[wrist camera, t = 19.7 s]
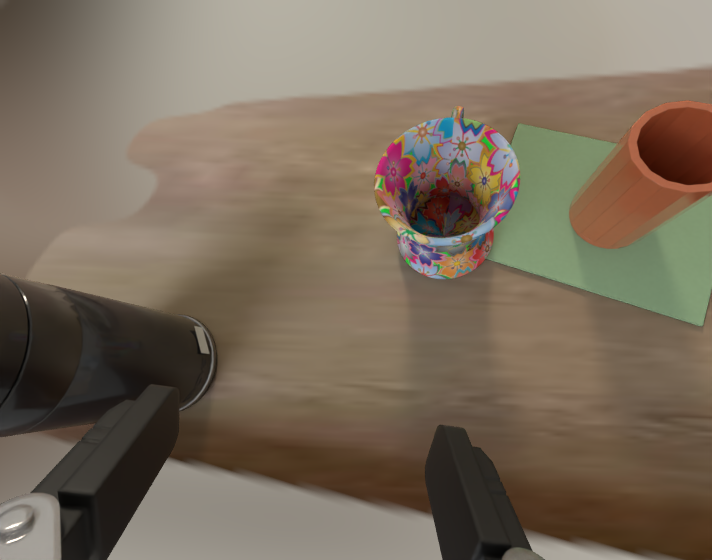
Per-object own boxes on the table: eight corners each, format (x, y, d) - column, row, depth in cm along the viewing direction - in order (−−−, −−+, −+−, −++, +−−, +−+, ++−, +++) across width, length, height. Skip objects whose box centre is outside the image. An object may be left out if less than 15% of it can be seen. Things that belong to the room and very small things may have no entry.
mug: (489, 293, 31) (511, 253, 21) (385, 278, 34) (361, 234, 24) (506, 170, 34) (533, 82, 24) (408, 164, 36) (395, 83, 26)
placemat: (470, 254, 33) (470, 253, 32) (517, 125, 35) (518, 123, 35) (700, 326, 28) (703, 326, 28) (737, 171, 30) (740, 169, 30)
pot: (559, 236, 31) (617, 176, 22) (579, 175, 32) (643, 91, 23) (638, 259, 30) (738, 204, 20) (657, 193, 31) (760, 112, 21)
